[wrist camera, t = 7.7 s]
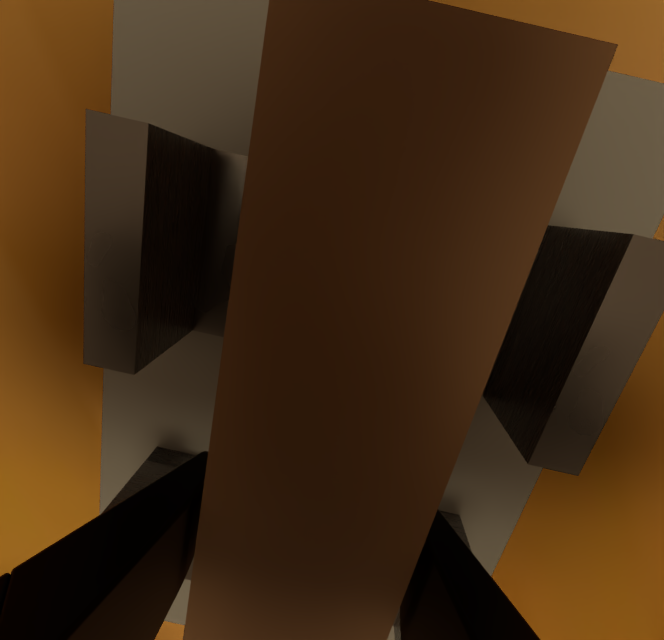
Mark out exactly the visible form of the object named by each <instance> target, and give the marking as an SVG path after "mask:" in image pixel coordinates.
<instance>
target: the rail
mask: <svg viewBox="0 0 664 640" xmlns="http://www.w3.org/2000/svg"><path fill="white" fill-rule="evenodd" d="M617 46H618V44H613V43H609V42H605V41H600V40H596V39H592V38H587V37H583V36H579V35H575V34H570V33H566V32H562V31H557V30H553V29H549V28H544V27H540V26H536V25H532V24H527V23H523V22H519V21H514V20H510V19H506V18H501V17H497V16H493V15H489V14H484V13H480V12H476V11H471V10H467V9H463V8H459V7H454V6H450V5H446V4H441V3H437V2H433V1H428V0H269V5H268V13H267V20H266V27H265V35H264V42H263V50H262V57H261V65H260V72H259V79H258V87H257V94H256V102H255V109H254V116H253V124H252V131H251V139H250V146H249V154H248V161H247V168H246V176H245V183H244V191H243V198H242V206H241V213H240V220H239V228H238V235H237V243H236V250H235V258H234V265H233V272H232V280H231V287H230V295H229V302H228V309H227V317H226V324H225V332H224V339H223V347H222V354H221V361H220V369H219V376H218V384H217V391H216V399H215V406H214V413H213V421H212V428H211V436H210V443H209V451H208V458H207V465H206V473H205V480H204V488H203V495H202V503H201V510H200V517H199V525H198V532H197V540H196V547H195V554H194V562H193V569H192V577H191V584H190V592H189V599H188V606H187V614H186V621H185V629H184V636H183V640H387V639H388V636H389V633H390V631H391V628H392V626H393V623H394V621H395V618H396V615H397V613H398V610H399V608H400V605H401V602H402V600H403V597H404V595H405V592H406V590H407V587H408V584H409V582H410V579H411V577H412V574H413V572H414V569H415V566H416V564H417V561H418V559H419V556H420V554H421V551H422V548H423V546H424V543H425V541H426V538H427V535H428V533H429V530H430V528H431V525H432V523H433V520H434V517H435V515H436V512H437V510H438V507H439V505H440V502H441V499H442V497H443V494H444V492H445V489H446V487H447V484H448V481H449V479H450V476H451V474H452V471H453V468H454V466H455V463H456V461H457V458H458V456H459V453H460V450H461V448H462V445H463V443H464V440H465V438H466V435H467V432H468V430H469V427H470V425H471V422H472V419H473V417H474V414H475V412H476V409H477V407H478V404H479V401H480V399H481V396H482V394H483V391H484V389H485V386H486V383H487V381H488V378H489V376H490V373H491V371H492V368H493V365H494V363H495V360H496V358H497V355H498V352H499V350H500V347H501V345H502V342H503V340H504V337H505V334H506V332H507V329H508V327H509V324H510V322H511V319H512V316H513V314H514V311H515V309H516V306H517V304H518V301H519V298H520V296H521V293H522V291H523V288H524V285H525V283H526V280H527V278H528V275H529V273H530V270H531V267H532V265H533V262H534V260H535V257H536V255H537V252H538V249H539V247H540V244H541V242H542V239H543V237H544V234H545V231H546V229H547V226H548V224H549V221H550V218H551V216H552V213H553V211H554V208H555V206H556V203H557V200H558V198H559V195H560V193H561V190H562V188H563V185H564V182H565V180H566V177H567V175H568V172H569V170H570V167H571V164H572V162H573V159H574V157H575V154H576V151H577V149H578V146H579V144H580V141H581V139H582V136H583V133H584V131H585V128H586V126H587V123H588V121H589V118H590V115H591V113H592V110H593V108H594V105H595V103H596V100H597V97H598V95H599V92H600V90H601V87H602V84H603V82H604V79H605V77H606V74H607V72H608V69H609V66H610V64H611V61H612V59H613V56H614V54H615V51H616V48H617Z"/></svg>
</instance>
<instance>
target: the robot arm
mask: <svg viewBox="0 0 664 640" xmlns="http://www.w3.org/2000/svg"><path fill="white" fill-rule="evenodd" d="M207 458H208V451H203V452H200V453H199V454H197V455H196V456H194V457H192V458H191V459H189V460H187V461H186V462H184V463H183V464H181V465H179V466H178V467H176V468H175V469H173V470H171V471H170V472H168V473H167V474H165V475H163V476H162V477H160V478H158V479H157V480H155V481H154V482H152V483H150V484H149V485H147V486H146V487H144V488H142V489H141V490H139V491H138V492H136V493H134V494H133V495H131V496H130V497H128V498H126V499H125V500H123V501H121V502H120V503H118V504H117V505H115V506H113V507H112V508H110V509H109V510H107V511H105V512H104V513H102V514H101V515H99V516H97V517H96V518H94V519H92V520H91V521H89V522H88V523H86V524H84V525H83V526H81V527H80V528H78V529H76V530H75V531H73V532H72V533H70V534H68V535H67V536H65V537H64V538H62V539H60V540H59V541H57V542H55V543H54V544H52V545H51V546H49V547H47V548H46V549H44V550H43V551H41V552H39V553H38V554H36V555H35V556H33V557H31V558H30V559H28V560H26V561H25V562H23V563H22V564H20V565H18V566H17V567H15V568H14V569H13V570H12V572H11V575H10V574H9V573H5V574H4V575H2V576H0V640H154V639H155V637H156V635H157V633H158V631H159V629H160V627H161V625H162V624H163V622H164V620H165V618H166V616H167V614H168V612H169V610H170V608H171V606H172V604H173V602H174V600H175V598H176V596H177V594H178V592H179V590H180V588H181V586H182V584H183V582H184V580H185V577H186V575H187V572H188V570H189V568H190V565H191V563H192V560H193V558H194V554H195V547H196V540H197V532H198V525H199V517H200V510H201V503H202V495H203V488H204V480H205V473H206V465H207ZM400 633H401V640H540V639H539V637H538V636H537V635H536V633H535V632H534V631H533V630H532V628H531V627H530V626H529V625H528V623H527V622H526V621H525V619H524V618H523V617H522V616H521V614H520V613H519V612H518V610H517V609H516V608H515V607H514V605H513V604H512V603H511V601H510V600H509V599H508V598H507V596H506V595H505V594H504V593H503V591H502V590H501V589H500V587H499V586H498V585H497V584H496V582H495V581H494V580H493V578H492V577H491V576H490V575H489V573H488V572H487V571H486V569H485V568H484V567H483V566H482V564H481V563H480V562H479V561H478V559H477V558H476V557H475V555H474V554H473V553H472V552H471V550H470V549H469V548H468V546H467V545H466V544H465V543H464V541H463V540H462V539H461V537H460V536H459V535H458V534H457V532H456V531H455V530H454V529H453V527H452V526H451V525H450V523H449V522H448V521H447V520H446V518H445V517H444V516H443V514H442V513H441V512H440V511H439V509H438V510H437V512H436V515H435V517H434V520H433V523H432V525H431V528H430V530H429V533H428V535H427V538H426V541H425V543H424V546H423V548H422V551H421V554H420V556H419V559H418V561H417V564H416V566H415V569H414V572H413V574H412V577H411V579H410V582H409V584H408V587H407V590H406V592H405V595H404V597H403V600H402V602H401V605H400Z"/></svg>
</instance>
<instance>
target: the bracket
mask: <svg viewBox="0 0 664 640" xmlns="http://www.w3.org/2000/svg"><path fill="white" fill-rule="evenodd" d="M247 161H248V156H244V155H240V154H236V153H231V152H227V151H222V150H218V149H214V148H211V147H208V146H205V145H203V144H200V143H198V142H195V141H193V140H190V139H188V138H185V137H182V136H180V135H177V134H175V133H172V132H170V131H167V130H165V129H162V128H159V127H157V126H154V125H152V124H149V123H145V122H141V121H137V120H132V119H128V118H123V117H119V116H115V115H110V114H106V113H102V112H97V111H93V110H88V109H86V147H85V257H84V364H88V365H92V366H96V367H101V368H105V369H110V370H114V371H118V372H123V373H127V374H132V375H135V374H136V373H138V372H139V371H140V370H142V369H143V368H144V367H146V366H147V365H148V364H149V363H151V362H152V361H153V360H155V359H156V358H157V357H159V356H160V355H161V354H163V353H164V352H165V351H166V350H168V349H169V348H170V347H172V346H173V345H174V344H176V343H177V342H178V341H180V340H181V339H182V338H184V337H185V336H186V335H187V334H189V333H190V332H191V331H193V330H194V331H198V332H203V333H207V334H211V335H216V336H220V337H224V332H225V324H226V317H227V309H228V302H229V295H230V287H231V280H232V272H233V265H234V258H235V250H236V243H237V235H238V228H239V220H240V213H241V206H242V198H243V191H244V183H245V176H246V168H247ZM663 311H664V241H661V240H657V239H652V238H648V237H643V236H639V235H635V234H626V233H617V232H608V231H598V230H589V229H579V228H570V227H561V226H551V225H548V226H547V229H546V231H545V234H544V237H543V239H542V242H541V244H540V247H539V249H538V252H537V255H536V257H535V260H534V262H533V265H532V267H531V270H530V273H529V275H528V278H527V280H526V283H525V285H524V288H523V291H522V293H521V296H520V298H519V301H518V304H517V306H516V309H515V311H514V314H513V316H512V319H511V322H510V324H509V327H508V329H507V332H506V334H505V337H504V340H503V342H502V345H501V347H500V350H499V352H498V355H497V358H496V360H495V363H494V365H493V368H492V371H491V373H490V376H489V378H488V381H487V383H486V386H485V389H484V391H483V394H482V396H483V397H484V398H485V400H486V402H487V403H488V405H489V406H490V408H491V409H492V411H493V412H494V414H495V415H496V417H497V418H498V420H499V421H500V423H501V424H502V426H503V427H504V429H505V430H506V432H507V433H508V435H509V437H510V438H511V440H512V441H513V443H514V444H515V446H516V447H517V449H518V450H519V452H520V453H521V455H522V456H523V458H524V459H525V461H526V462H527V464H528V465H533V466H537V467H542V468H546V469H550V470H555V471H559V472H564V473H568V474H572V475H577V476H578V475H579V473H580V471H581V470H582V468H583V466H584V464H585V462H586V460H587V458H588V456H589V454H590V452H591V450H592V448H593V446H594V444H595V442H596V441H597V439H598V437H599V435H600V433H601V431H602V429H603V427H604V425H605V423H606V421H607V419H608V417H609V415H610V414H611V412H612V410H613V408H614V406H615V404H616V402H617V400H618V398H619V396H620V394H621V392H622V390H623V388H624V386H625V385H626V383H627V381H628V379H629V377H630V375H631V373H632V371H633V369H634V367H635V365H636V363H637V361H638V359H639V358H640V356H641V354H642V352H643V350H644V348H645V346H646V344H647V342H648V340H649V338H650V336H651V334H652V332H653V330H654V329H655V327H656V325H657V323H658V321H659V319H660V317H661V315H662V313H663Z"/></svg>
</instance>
